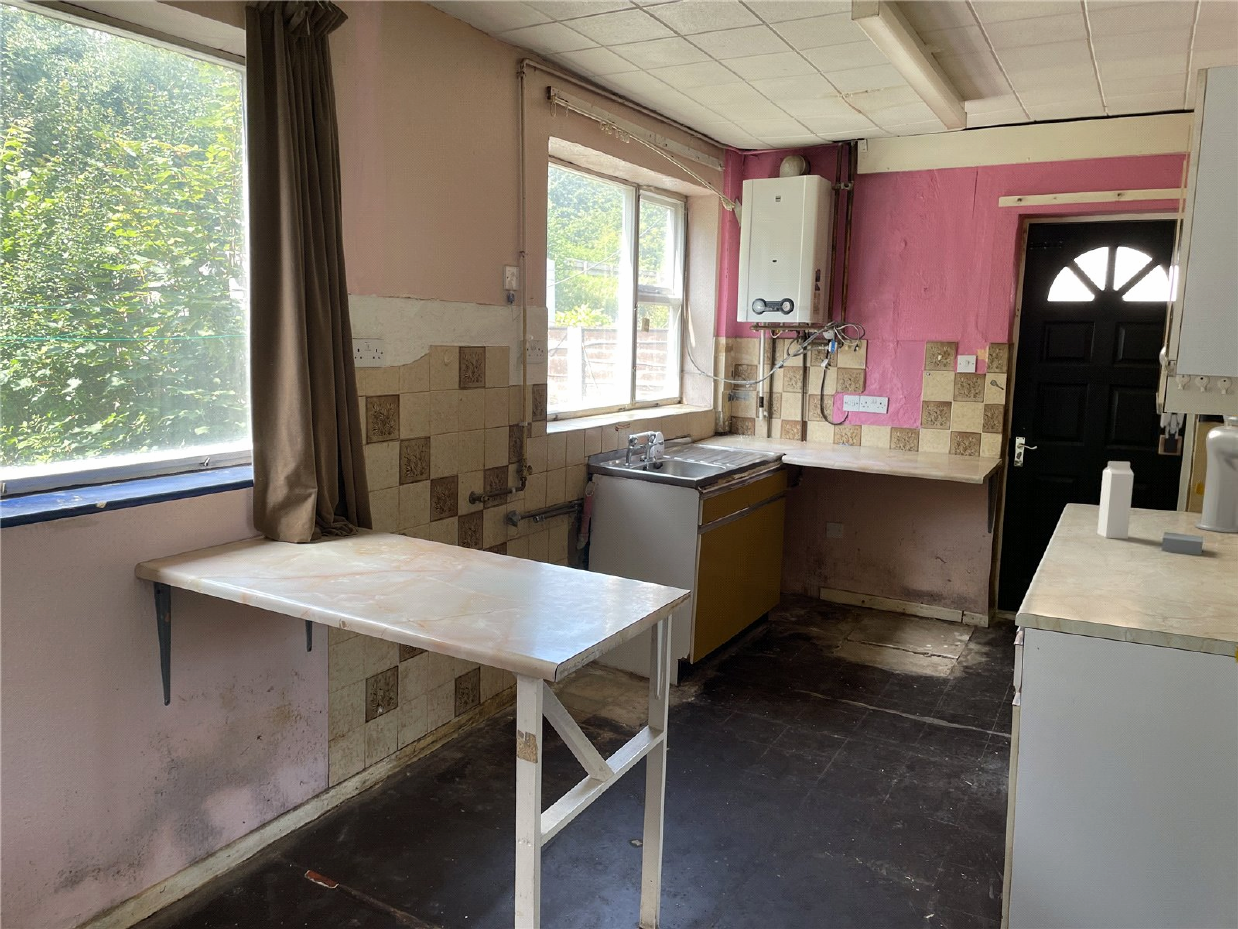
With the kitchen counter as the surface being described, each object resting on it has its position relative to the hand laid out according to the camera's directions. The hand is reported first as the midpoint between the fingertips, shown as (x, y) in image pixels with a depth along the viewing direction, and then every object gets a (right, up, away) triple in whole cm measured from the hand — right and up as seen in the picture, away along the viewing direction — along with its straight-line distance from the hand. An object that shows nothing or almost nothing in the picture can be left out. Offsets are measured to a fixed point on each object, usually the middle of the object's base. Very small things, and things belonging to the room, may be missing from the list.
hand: (1169, 451), depth 248 cm
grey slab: (-3, -27, -10) cm, 29 cm away
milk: (-12, -25, +7) cm, 29 cm away
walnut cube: (0, -1, 0) cm, 1 cm away
